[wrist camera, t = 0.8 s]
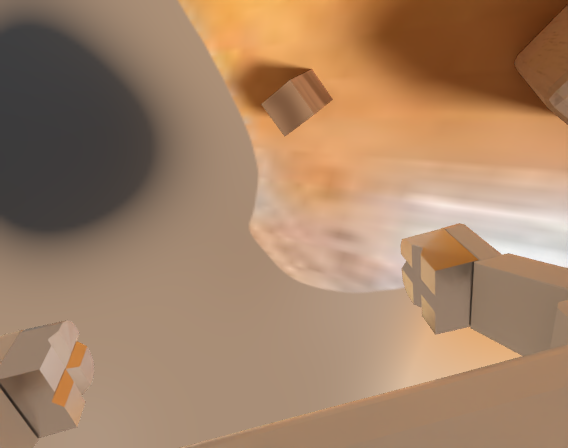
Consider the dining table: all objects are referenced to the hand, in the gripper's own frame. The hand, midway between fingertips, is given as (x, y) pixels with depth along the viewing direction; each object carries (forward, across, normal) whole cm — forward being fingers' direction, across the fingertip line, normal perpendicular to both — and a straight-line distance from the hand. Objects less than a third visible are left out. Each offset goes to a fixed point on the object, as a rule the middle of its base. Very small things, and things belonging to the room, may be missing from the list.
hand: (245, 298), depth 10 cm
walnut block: (+45, -11, +5) cm, 46 cm away
